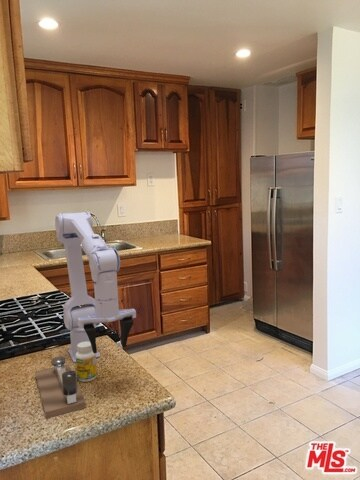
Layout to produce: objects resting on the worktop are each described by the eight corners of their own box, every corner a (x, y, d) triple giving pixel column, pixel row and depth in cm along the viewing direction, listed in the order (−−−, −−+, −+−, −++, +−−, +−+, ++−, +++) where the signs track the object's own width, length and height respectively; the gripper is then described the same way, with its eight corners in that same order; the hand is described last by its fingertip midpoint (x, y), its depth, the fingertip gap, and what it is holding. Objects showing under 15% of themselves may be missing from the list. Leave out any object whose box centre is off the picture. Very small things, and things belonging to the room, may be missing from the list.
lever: (51, 368, 109) (49, 346, 108) (64, 365, 110) (63, 343, 109) (64, 405, 91) (62, 378, 90) (79, 401, 92) (78, 375, 91)
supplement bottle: (100, 373, 109) (98, 340, 108) (92, 383, 104) (90, 348, 102) (81, 372, 110) (79, 339, 109) (73, 381, 105) (71, 347, 103)
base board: (35, 376, 108) (35, 371, 108) (68, 369, 112) (68, 364, 112) (45, 418, 89) (45, 412, 88) (85, 407, 92) (85, 401, 92)
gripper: (80, 306, 92) (84, 360, 94) (139, 297, 98) (141, 348, 100) (74, 298, 98) (78, 349, 100) (130, 290, 104) (132, 338, 106)
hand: (109, 348), depth 100 cm, fingers open, 7 cm apart
